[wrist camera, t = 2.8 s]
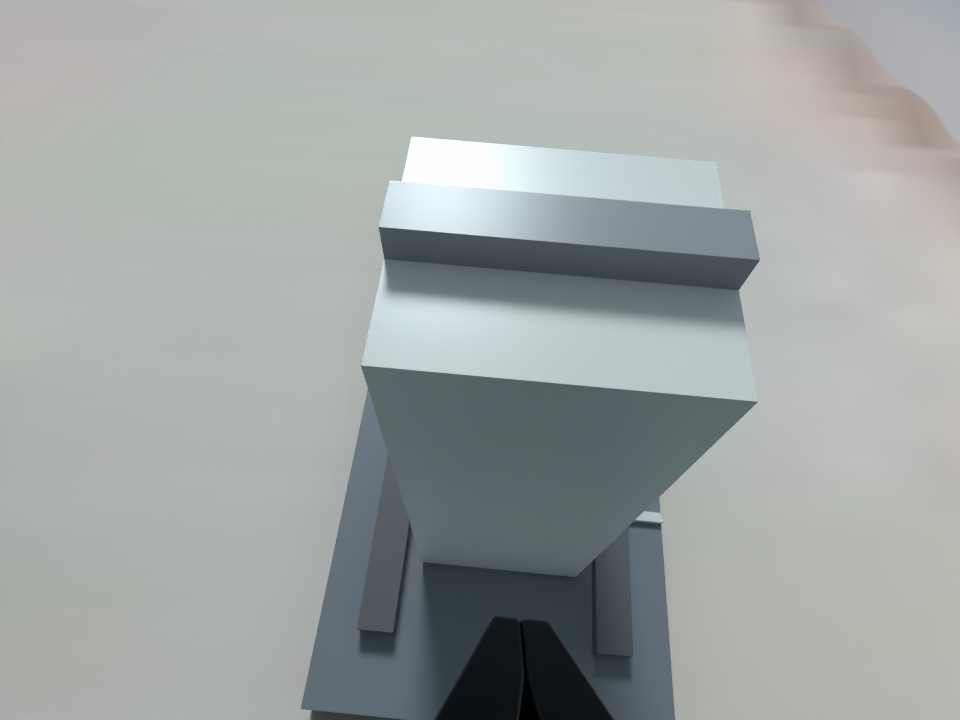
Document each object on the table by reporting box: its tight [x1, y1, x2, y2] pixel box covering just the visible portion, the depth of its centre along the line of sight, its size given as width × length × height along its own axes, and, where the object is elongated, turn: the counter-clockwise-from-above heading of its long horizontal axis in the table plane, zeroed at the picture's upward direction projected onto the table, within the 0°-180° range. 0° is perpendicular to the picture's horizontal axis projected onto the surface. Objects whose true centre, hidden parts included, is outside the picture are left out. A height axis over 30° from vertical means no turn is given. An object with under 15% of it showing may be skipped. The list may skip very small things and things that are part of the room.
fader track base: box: [301, 390, 675, 720], centre depth 20 cm, size 20×10×3 cm, turn 175°
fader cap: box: [361, 137, 760, 577], centre depth 12 cm, size 4×5×13 cm
